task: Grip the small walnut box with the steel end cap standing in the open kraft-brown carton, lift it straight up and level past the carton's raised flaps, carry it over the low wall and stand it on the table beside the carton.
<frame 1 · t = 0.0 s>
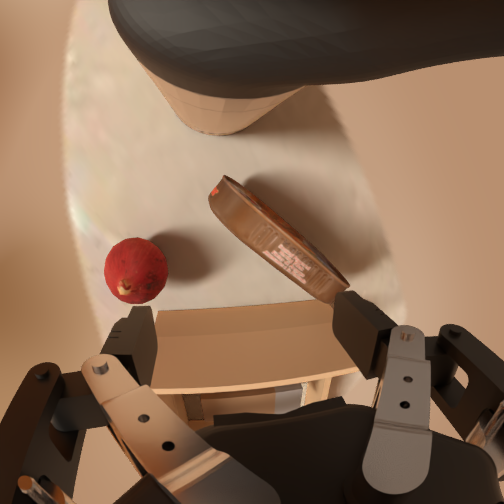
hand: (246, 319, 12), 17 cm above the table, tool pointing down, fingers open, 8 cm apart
carton: (245, 373, 34), on the table
tin: (271, 230, 29), on the table
onion: (144, 256, 28), on the table
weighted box: (248, 389, 32), in the carton
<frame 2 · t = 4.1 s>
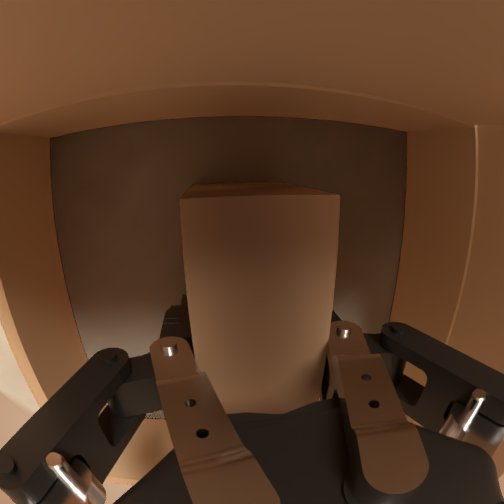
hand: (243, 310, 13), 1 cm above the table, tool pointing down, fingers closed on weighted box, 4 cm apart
carton: (240, 298, 14), on the table
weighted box: (249, 330, 11), in the carton, touching gripper
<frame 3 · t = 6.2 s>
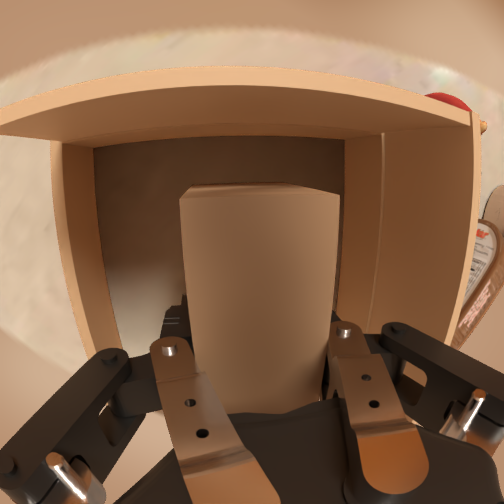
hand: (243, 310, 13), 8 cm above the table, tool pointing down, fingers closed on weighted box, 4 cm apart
carton: (224, 258, 21), on the table
tin: (418, 274, 25), on the table
onion: (412, 132, 21), on the table
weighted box: (249, 330, 11), point 10 cm above the table, touching gripper
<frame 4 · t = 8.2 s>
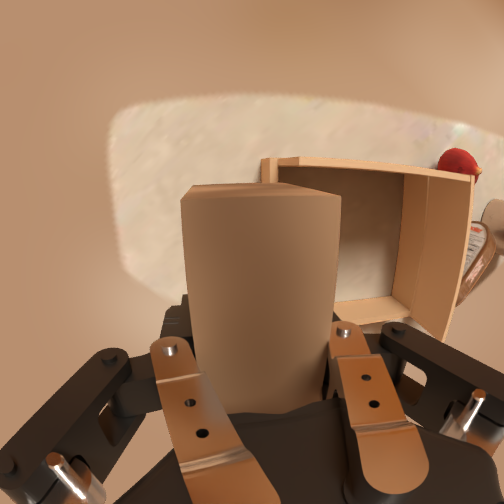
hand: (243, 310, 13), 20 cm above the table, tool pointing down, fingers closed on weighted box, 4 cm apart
carton: (341, 239, 35), on the table
tin: (440, 255, 38), on the table
onion: (439, 168, 34), on the table
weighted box: (250, 331, 11), point 22 cm above the table, touching gripper
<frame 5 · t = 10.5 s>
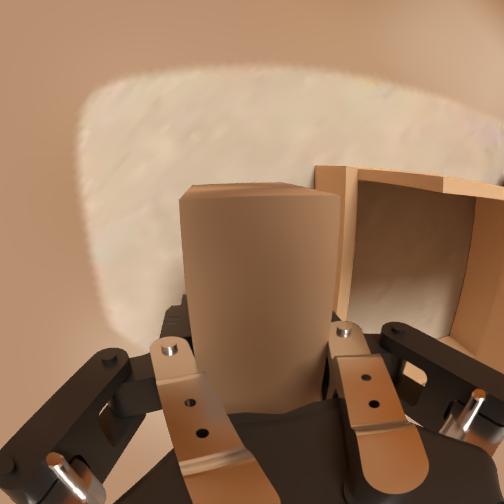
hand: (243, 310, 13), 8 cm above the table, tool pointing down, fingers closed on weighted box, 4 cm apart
carton: (408, 276, 24), on the table
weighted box: (249, 331, 11), point 10 cm above the table, touching gripper
when the fingers open (3 cm above the table, at t = 12.4 s): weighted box drops 1 cm, on the table.
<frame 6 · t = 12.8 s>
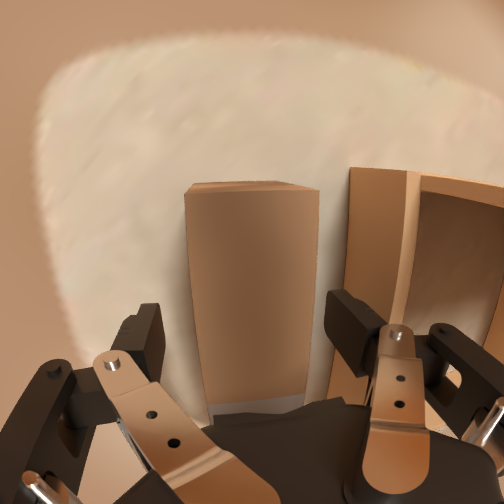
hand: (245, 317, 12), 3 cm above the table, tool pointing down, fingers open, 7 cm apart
carton: (447, 301, 19), on the table
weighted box: (245, 313, 13), on the table
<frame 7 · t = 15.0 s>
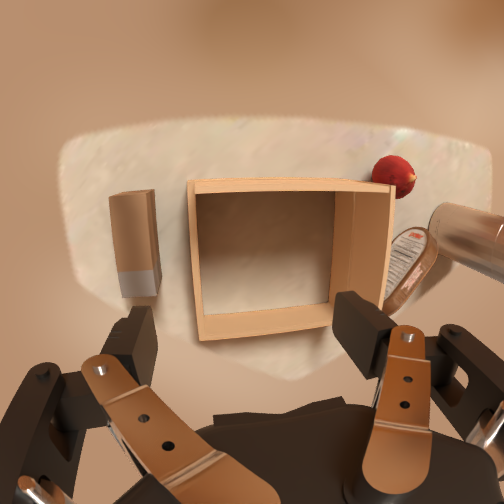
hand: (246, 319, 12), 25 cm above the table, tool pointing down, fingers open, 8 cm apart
carton: (269, 250, 38), on the table
tin: (381, 261, 42), on the table
onion: (377, 175, 38), on the table
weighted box: (137, 241, 31), on the table
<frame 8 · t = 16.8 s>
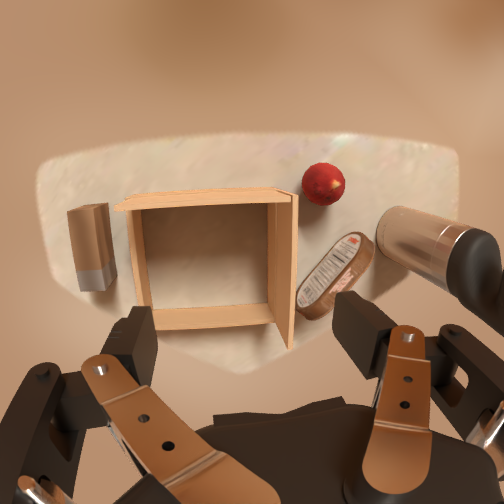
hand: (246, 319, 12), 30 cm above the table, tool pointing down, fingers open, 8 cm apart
carton: (206, 254, 42), on the table
tin: (322, 265, 46), on the table
onion: (313, 182, 42), on the table
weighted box: (93, 246, 36), on the table
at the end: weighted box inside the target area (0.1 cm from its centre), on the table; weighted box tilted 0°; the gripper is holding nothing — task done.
